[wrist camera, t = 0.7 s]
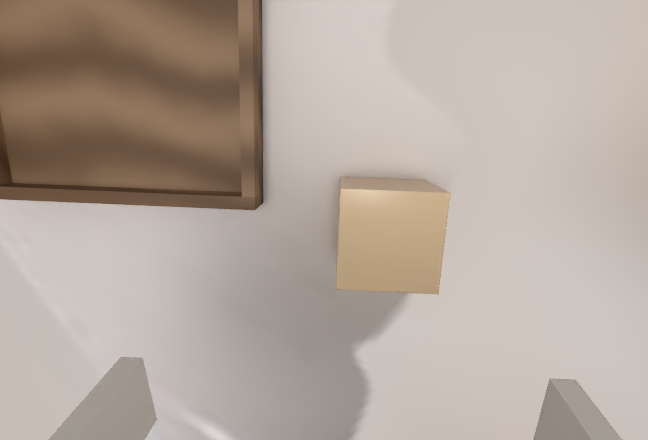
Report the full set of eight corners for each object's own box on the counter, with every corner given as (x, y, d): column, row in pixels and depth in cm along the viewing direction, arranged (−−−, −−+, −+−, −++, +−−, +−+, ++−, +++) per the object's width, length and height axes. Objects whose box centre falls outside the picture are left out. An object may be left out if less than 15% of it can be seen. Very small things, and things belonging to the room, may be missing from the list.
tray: (263, 202, 30) (254, 210, 27) (13, 192, 31) (-21, 198, 28) (261, -69, 26) (251, -96, 23) (-33, -74, 26) (-79, -101, 23)
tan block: (416, 259, 31) (438, 294, 24) (336, 255, 31) (336, 289, 24) (424, 179, 29) (450, 193, 22) (340, 176, 30) (340, 188, 23)
